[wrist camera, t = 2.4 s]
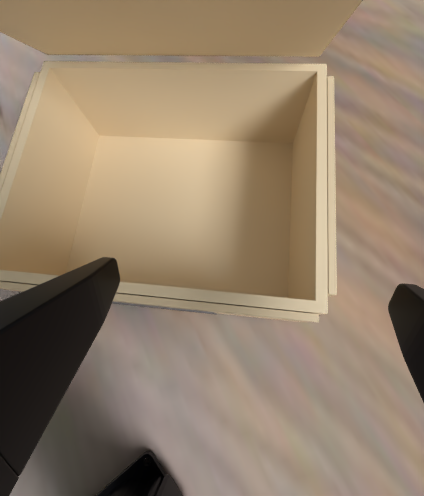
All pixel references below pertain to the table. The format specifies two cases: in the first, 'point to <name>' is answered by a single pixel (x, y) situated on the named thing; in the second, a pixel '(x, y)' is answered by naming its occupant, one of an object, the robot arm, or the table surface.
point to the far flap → (176, 26)
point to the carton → (177, 184)
